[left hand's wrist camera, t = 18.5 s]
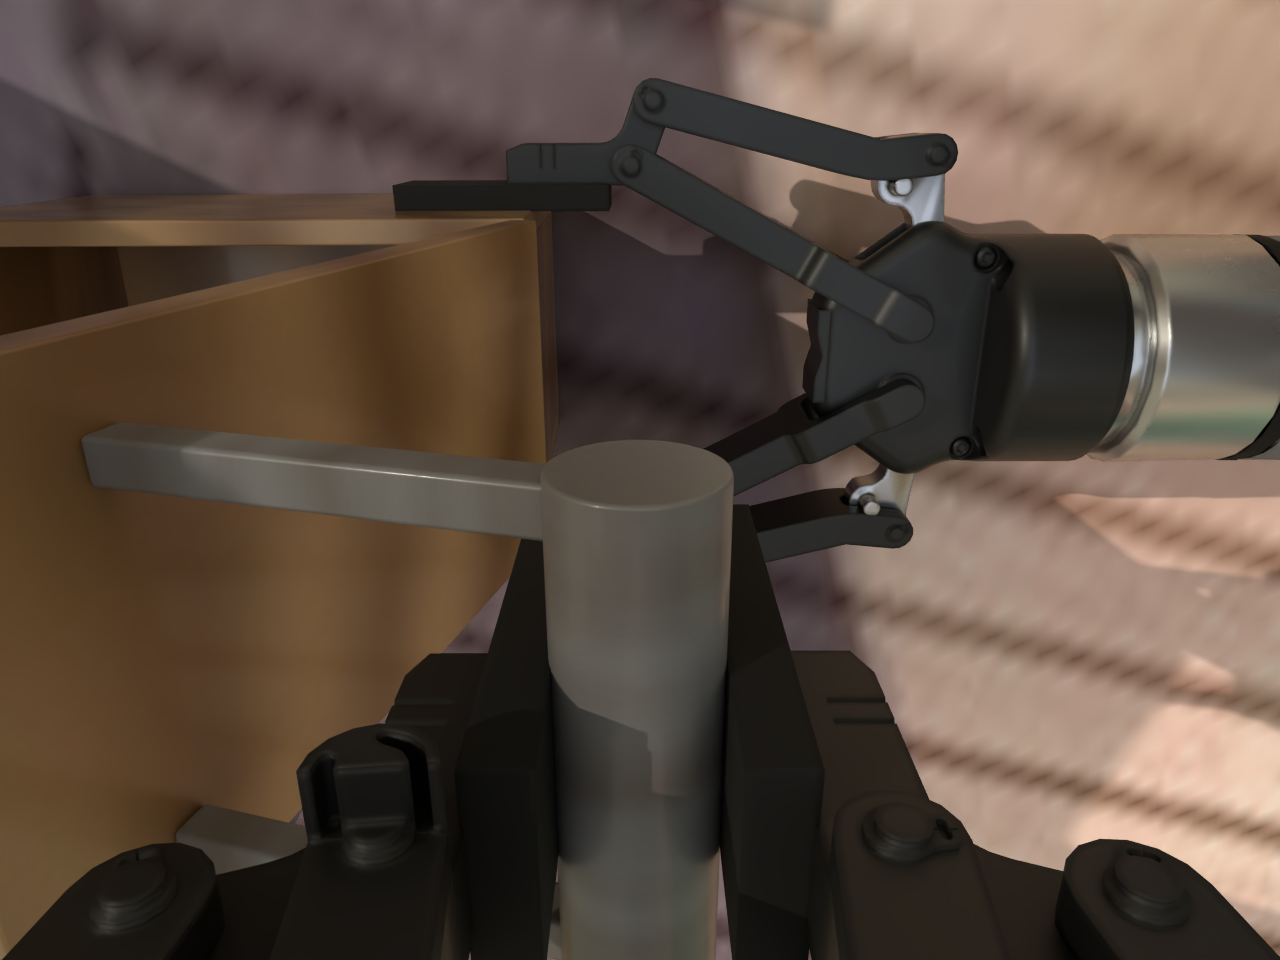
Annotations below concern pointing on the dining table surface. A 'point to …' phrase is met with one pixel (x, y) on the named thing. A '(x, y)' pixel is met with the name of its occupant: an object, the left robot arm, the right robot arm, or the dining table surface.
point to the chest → (218, 252)
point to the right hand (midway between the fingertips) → (419, 352)
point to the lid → (344, 578)
